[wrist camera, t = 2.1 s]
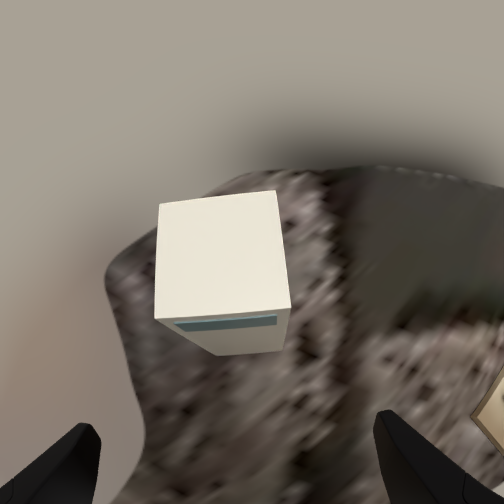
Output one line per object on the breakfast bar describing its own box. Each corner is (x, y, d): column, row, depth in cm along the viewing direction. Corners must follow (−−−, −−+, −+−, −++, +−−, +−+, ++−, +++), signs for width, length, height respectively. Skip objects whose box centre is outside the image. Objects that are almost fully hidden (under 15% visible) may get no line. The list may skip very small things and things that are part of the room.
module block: (282, 351, 21) (291, 309, 10) (216, 356, 21) (154, 320, 10) (275, 287, 23) (275, 189, 12) (213, 293, 23) (159, 202, 12)
